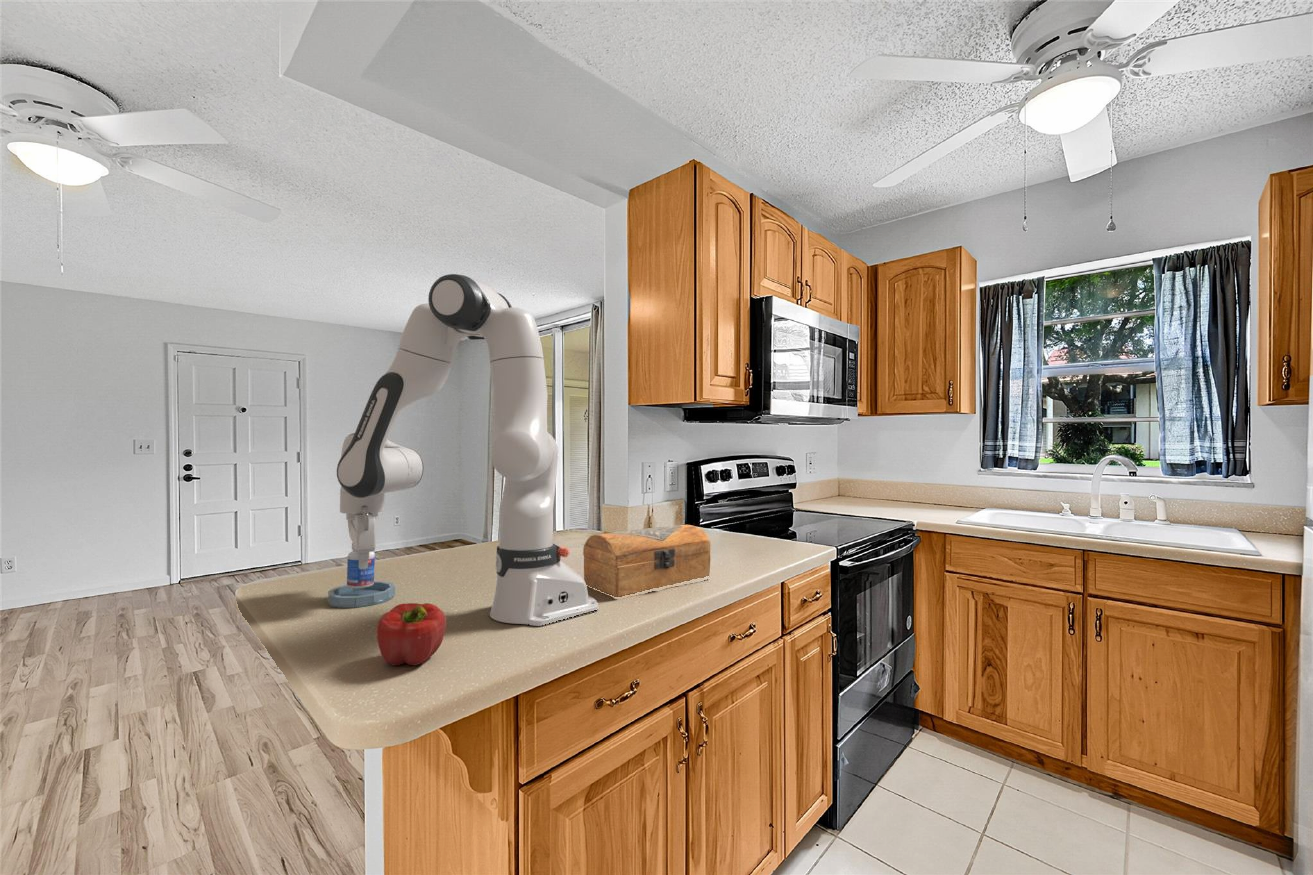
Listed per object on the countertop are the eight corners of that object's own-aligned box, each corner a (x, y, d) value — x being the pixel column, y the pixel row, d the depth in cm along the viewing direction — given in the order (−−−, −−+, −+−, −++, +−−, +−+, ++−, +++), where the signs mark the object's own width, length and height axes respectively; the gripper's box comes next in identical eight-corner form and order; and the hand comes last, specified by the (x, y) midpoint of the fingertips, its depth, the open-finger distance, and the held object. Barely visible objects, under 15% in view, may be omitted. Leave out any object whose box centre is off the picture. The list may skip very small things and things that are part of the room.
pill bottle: (362, 589, 119) (363, 545, 119) (341, 588, 120) (341, 543, 120) (379, 583, 124) (380, 540, 124) (359, 581, 125) (359, 539, 125)
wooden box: (617, 602, 123) (618, 541, 123) (581, 585, 136) (582, 530, 136) (714, 582, 141) (715, 528, 141) (674, 569, 154) (675, 520, 154)
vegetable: (456, 663, 88) (457, 602, 88) (388, 682, 82) (389, 616, 82) (432, 644, 97) (433, 588, 97) (369, 659, 90) (369, 599, 90)
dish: (390, 587, 131) (390, 578, 131) (397, 601, 120) (398, 591, 120) (327, 595, 124) (327, 586, 124) (329, 611, 113) (329, 601, 113)
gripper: (384, 508, 115) (382, 573, 115) (373, 498, 132) (372, 554, 132) (349, 510, 112) (348, 577, 112) (343, 499, 129) (342, 557, 129)
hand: (361, 565), depth 122 cm, fingers closed on pill bottle, 5 cm apart
